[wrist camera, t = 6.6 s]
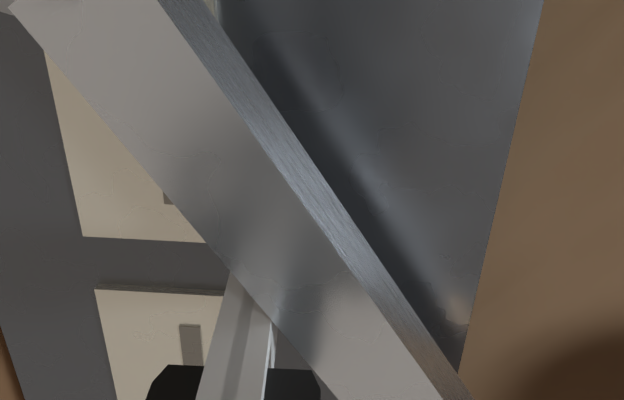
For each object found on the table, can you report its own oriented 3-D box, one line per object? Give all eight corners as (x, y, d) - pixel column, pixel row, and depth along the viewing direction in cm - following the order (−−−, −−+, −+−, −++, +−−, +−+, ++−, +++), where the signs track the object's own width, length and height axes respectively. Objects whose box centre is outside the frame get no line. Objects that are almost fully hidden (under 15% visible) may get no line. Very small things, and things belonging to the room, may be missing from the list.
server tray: (-111, -159, 12) (-236, -187, 10) (550, -138, 12) (613, -161, 9) (65, 438, 22) (29, 505, 20) (424, 461, 22) (435, 533, 19)
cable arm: (-40, -115, 10) (-185, -136, 7) (78, -232, 9) (-35, -308, 6) (441, 485, 17) (460, 584, 15) (530, 456, 16) (568, 556, 14)
